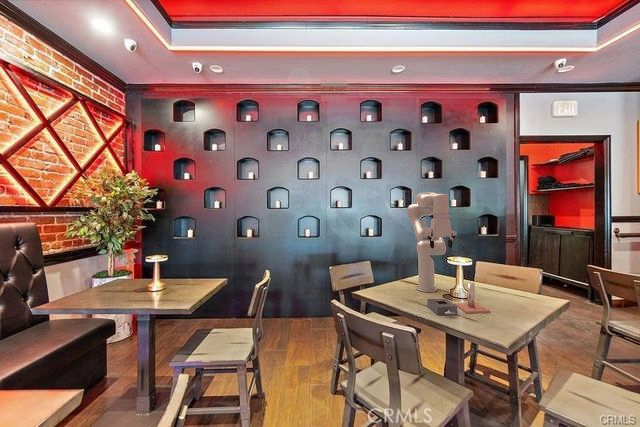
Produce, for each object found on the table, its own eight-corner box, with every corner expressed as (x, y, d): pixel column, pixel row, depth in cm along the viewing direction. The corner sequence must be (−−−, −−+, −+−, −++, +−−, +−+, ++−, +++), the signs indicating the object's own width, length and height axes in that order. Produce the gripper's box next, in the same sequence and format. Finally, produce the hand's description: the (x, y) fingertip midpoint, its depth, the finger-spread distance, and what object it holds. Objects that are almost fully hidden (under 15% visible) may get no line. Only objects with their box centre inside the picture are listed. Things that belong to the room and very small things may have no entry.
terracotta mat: (454, 305, 153) (454, 303, 153) (476, 304, 153) (476, 302, 153) (466, 313, 141) (466, 311, 141) (490, 312, 141) (490, 310, 141)
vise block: (427, 306, 152) (427, 299, 152) (445, 306, 152) (445, 298, 152) (440, 317, 136) (440, 309, 136) (461, 317, 136) (461, 309, 136)
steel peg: (466, 305, 149) (466, 282, 149) (472, 305, 149) (472, 282, 149) (470, 308, 146) (469, 284, 145) (476, 307, 146) (476, 284, 145)
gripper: (453, 215, 160) (453, 246, 160) (422, 216, 160) (422, 247, 160) (459, 216, 152) (460, 248, 153) (427, 217, 152) (428, 249, 152)
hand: (441, 247), depth 156 cm, fingers open, 9 cm apart
